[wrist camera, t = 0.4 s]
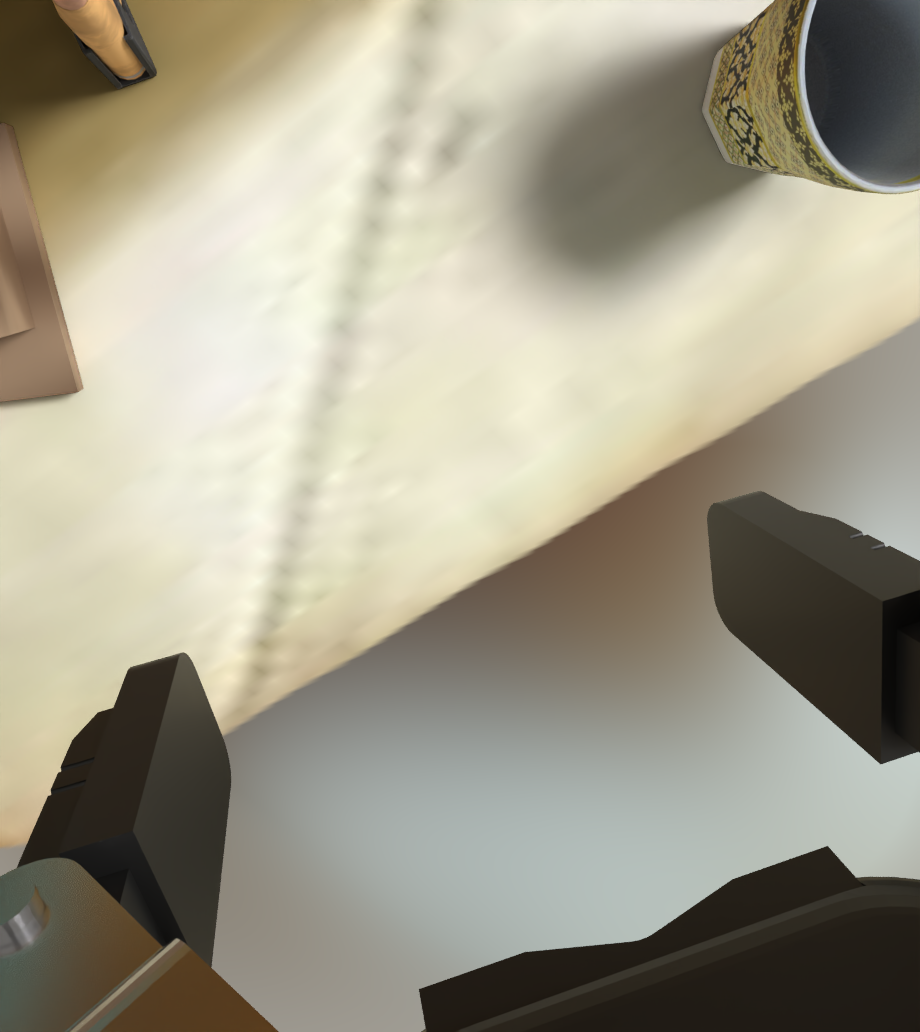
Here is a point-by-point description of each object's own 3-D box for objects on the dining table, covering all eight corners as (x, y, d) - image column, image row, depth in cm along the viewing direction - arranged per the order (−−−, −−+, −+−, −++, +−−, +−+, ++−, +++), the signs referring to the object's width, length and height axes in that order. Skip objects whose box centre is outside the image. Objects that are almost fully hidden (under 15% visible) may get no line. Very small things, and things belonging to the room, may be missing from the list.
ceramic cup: (648, 185, 38) (764, 164, 28) (701, -46, 35) (849, -154, 26) (863, 235, 41) (1030, 230, 32) (928, 27, 38) (1132, -45, 29)
